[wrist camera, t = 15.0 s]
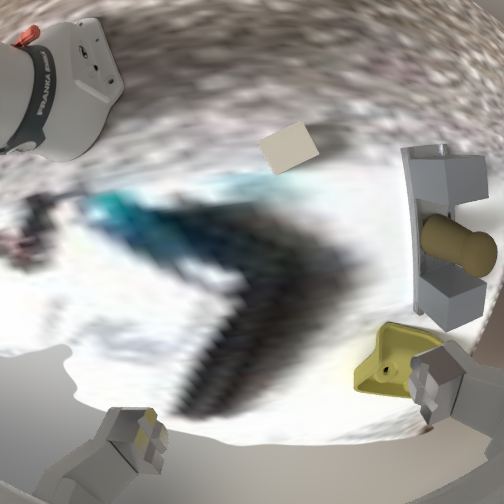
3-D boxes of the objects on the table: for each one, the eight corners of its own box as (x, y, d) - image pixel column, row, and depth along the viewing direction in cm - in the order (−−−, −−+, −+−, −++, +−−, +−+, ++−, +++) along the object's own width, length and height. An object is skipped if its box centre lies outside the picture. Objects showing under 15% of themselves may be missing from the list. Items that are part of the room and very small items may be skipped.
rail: (400, 148, 33) (407, 147, 31) (439, 144, 33) (447, 144, 31) (413, 310, 39) (418, 316, 38) (447, 298, 39) (453, 303, 37)
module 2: (418, 275, 36) (449, 298, 29) (455, 263, 36) (488, 282, 28) (418, 306, 38) (445, 332, 30) (454, 293, 37) (484, 315, 30)
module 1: (407, 159, 32) (443, 159, 24) (448, 154, 32) (486, 155, 24) (413, 197, 33) (448, 206, 26) (453, 190, 33) (490, 197, 25)
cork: (422, 213, 33) (474, 232, 23) (454, 214, 33) (507, 231, 23) (418, 258, 35) (466, 288, 25) (450, 255, 35) (498, 282, 25)
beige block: (257, 145, 33) (258, 140, 28) (294, 126, 33) (301, 120, 28) (273, 174, 34) (277, 175, 29) (310, 155, 34) (319, 154, 29)
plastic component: (347, 390, 41) (383, 362, 34) (348, 352, 46) (378, 319, 40) (435, 400, 41) (471, 375, 34) (430, 367, 47) (463, 340, 40)
